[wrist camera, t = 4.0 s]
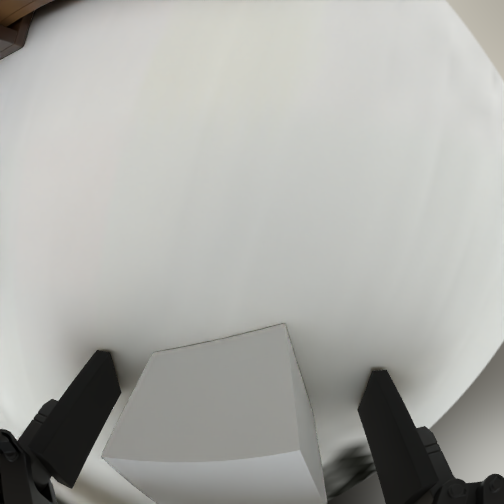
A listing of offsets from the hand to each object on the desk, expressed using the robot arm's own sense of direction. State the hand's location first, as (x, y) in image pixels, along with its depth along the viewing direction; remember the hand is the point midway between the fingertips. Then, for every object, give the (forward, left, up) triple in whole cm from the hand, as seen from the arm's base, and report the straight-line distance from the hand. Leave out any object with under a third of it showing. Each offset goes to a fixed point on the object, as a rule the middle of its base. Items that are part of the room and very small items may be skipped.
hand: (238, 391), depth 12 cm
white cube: (0, 0, 0) cm, 0 cm away
